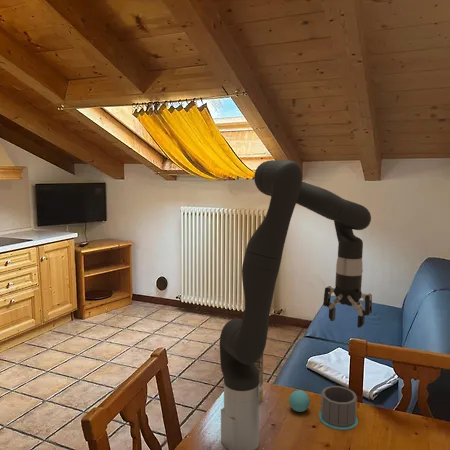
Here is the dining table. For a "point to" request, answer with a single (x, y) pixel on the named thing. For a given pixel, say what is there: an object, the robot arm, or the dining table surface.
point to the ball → (299, 401)
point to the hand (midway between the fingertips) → (346, 323)
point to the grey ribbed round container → (338, 408)
